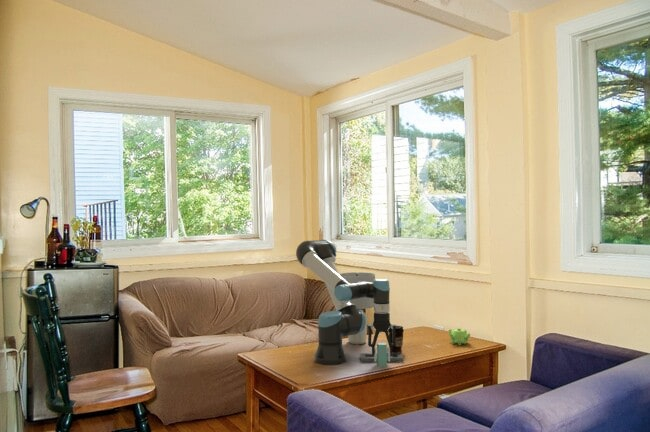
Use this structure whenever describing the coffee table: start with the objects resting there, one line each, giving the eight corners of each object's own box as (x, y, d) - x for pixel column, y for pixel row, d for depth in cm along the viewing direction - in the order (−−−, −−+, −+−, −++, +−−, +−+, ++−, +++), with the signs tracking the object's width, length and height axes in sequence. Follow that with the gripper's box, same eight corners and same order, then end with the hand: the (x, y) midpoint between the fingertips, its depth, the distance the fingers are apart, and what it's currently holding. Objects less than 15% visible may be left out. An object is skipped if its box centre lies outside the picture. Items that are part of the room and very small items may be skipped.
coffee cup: (407, 351, 269) (407, 326, 269) (398, 354, 263) (398, 329, 263) (393, 348, 275) (393, 324, 275) (384, 351, 269) (384, 326, 269)
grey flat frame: (362, 362, 250) (361, 358, 250) (360, 357, 259) (359, 353, 259) (403, 361, 251) (403, 357, 251) (399, 356, 260) (399, 352, 260)
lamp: (331, 342, 290) (331, 273, 290) (356, 336, 304) (356, 270, 304) (357, 349, 275) (357, 275, 275) (383, 342, 289) (382, 272, 289)
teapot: (469, 341, 290) (468, 326, 290) (470, 346, 279) (470, 330, 279) (448, 340, 292) (448, 325, 292) (449, 345, 281) (449, 330, 281)
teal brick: (378, 366, 244) (378, 344, 244) (377, 363, 248) (377, 342, 248) (386, 366, 244) (386, 344, 244) (385, 363, 248) (385, 342, 248)
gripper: (363, 313, 242) (363, 363, 242) (402, 313, 242) (403, 362, 242) (361, 311, 249) (361, 359, 249) (399, 310, 250) (400, 358, 250)
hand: (382, 360), depth 246 cm, fingers open, 6 cm apart
